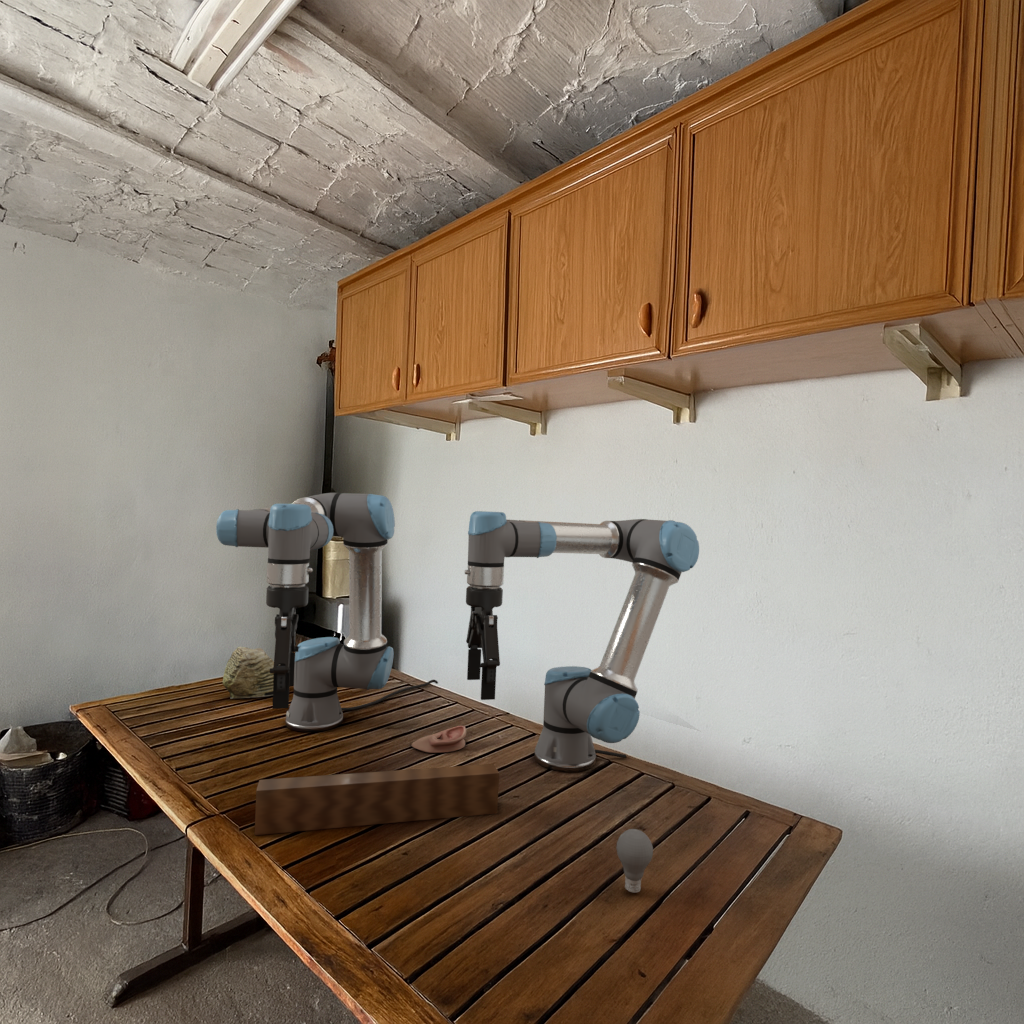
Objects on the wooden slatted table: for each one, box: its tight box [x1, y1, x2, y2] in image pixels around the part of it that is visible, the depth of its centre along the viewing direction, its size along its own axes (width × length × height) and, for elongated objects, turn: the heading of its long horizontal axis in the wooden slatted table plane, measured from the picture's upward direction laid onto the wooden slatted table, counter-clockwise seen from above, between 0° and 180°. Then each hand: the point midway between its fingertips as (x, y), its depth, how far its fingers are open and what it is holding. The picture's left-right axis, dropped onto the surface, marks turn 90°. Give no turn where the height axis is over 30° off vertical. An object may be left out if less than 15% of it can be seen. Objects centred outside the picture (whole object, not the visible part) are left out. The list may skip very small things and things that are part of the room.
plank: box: [254, 763, 500, 836], centre depth 126 cm, size 47×5×8 cm, turn 105°
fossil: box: [222, 646, 274, 699], centre depth 198 cm, size 9×18×15 cm, turn 132°
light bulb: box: [615, 828, 654, 894], centre depth 106 cm, size 6×6×10 cm
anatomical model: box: [411, 725, 467, 754], centre depth 164 cm, size 13×4×12 cm
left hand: (283, 696), depth 120 cm, fingers open, 13 cm apart
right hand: (480, 689), depth 131 cm, fingers open, 13 cm apart
